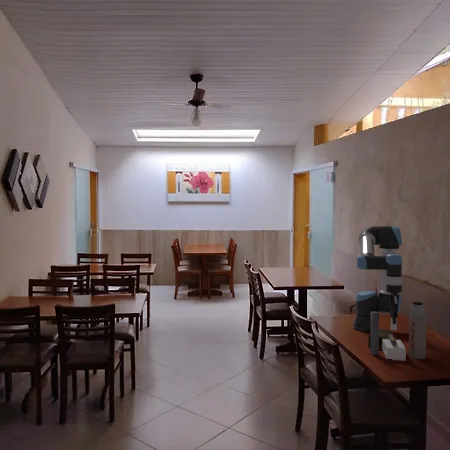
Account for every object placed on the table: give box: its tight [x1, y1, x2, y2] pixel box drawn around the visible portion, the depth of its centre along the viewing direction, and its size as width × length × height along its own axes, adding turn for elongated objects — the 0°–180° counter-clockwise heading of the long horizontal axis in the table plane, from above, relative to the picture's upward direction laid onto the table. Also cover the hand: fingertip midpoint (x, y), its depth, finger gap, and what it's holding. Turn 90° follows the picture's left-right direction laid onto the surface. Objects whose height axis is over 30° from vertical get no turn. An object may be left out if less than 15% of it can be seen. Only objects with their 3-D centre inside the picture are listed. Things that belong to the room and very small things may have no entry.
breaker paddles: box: [388, 333, 397, 345], centre depth 233 cm, size 10×2×3 cm, turn 169°
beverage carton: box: [367, 328, 392, 350], centre depth 253 cm, size 8×19×7 cm, turn 146°
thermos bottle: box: [408, 301, 427, 360], centre depth 230 cm, size 8×8×28 cm
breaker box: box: [381, 339, 407, 362], centre depth 233 cm, size 15×9×6 cm, turn 169°
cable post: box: [370, 312, 380, 356], centre depth 234 cm, size 4×4×22 cm
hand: (393, 329), depth 232 cm, fingers closed
